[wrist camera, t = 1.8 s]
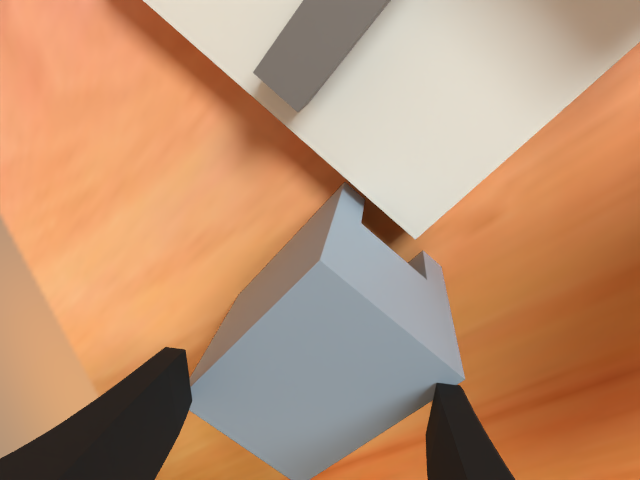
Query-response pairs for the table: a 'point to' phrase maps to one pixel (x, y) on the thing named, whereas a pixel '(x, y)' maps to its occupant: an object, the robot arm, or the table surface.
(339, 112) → the board
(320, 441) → the block
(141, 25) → the table surface
